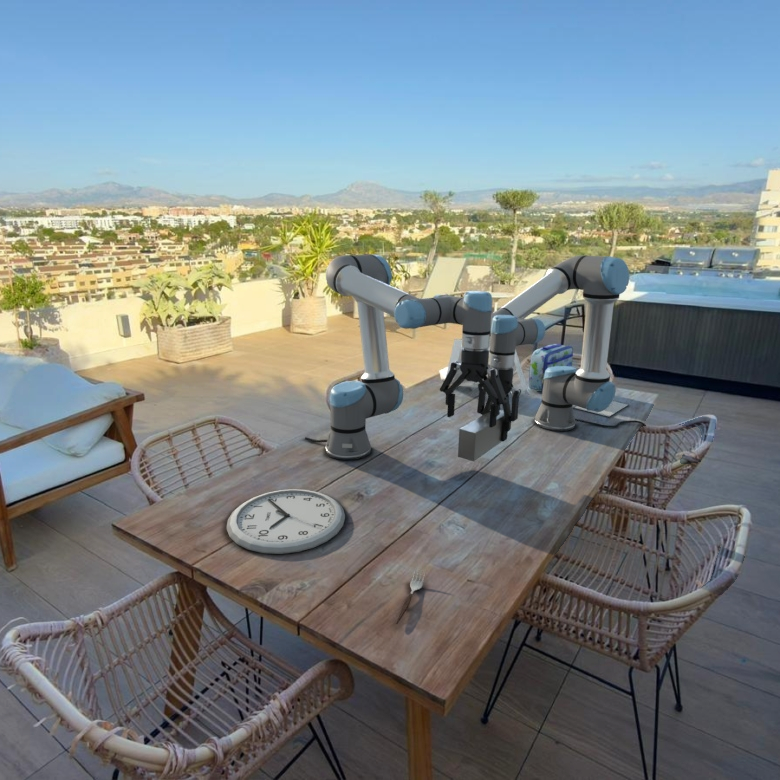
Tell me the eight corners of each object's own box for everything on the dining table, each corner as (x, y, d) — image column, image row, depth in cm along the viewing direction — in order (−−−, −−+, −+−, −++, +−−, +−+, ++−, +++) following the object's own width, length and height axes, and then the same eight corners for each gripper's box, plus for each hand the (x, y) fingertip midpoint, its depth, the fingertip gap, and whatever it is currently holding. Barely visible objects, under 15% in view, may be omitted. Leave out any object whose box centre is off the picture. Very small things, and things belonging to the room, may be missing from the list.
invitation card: (608, 416, 214) (573, 407, 224) (608, 416, 214) (573, 408, 224) (628, 404, 229) (594, 396, 238) (628, 405, 229) (594, 397, 238)
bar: (492, 434, 170) (494, 408, 167) (507, 438, 167) (509, 412, 164) (457, 456, 152) (459, 428, 150) (473, 461, 149) (475, 433, 147)
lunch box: (545, 396, 239) (550, 351, 232) (524, 391, 246) (528, 347, 240) (572, 385, 256) (577, 343, 250) (552, 380, 263) (557, 339, 257)
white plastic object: (461, 429, 252) (437, 405, 227) (444, 352, 274) (420, 323, 250) (535, 404, 240) (518, 377, 215) (510, 326, 262) (492, 293, 237)
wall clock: (345, 545, 122) (213, 550, 119) (345, 551, 122) (214, 556, 120) (344, 484, 150) (238, 487, 148) (345, 490, 151) (239, 492, 148)
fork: (390, 624, 100) (390, 615, 100) (415, 574, 115) (415, 567, 114) (403, 627, 99) (403, 619, 99) (426, 577, 114) (426, 569, 113)
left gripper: (429, 344, 148) (427, 415, 155) (511, 357, 134) (505, 434, 140) (443, 340, 154) (441, 408, 160) (523, 352, 140) (517, 426, 146)
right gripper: (468, 364, 161) (463, 434, 168) (524, 374, 150) (517, 448, 157) (479, 359, 166) (475, 427, 173) (534, 369, 156) (527, 441, 163)
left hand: (471, 420), depth 150 cm, fingers open, 13 cm apart
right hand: (495, 437), depth 165 cm, fingers closed on bar, 5 cm apart
